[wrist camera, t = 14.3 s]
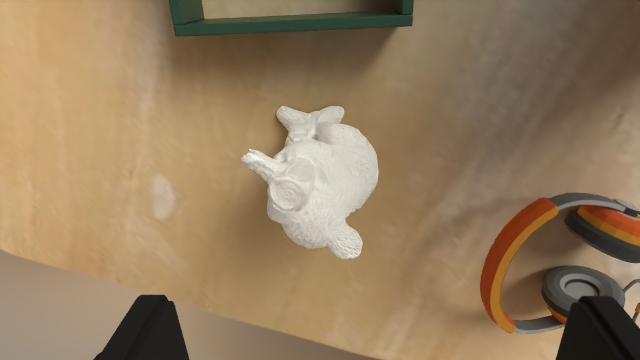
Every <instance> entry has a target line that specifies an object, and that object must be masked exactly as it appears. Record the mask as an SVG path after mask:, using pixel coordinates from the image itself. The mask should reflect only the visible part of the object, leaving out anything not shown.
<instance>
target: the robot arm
mask: <svg viewBox="0 0 640 360" xmlns="http://www.w3.org/2000/svg"><path fill="white" fill-rule="evenodd" d="M94 360H189V356H188V353H187V349H186V345H185V342H184V338H183V335H182V330H181V327H180V323H179V320H178V316H177V312H176V308H175V305H174V302H173V301H168V299H167V297H166V296H165V295H140V296H139V297H138V298H137V299H136V300H135V302H134V304H133V305H132V306H131V308H130V310H129V311H128V313H127V314H126V316H125V317H124V319H123V320H122V322H121V324H120V325H119V326H118V328H117V330H116V331H115V333H114V334H113V336H112V337H111V339H110V340H109V342H108V343H107V345H106V347H105V348H104V350H103V351H102V352H101V353H99V354H98V355H97V356H96V357H95V358H94ZM556 360H640V328H639V327H638V326H637V325H636V324H635V322H634V321H633V320H632V319H631V317H630V316H629V315H628V314H627V313H626V311H625V310H624V309H623V308H622V307H621V305H620V304H619V303H618V302H617V301H616V300H615V299H614V298H613V297H611V296H581V297H580V298H579V300H578V302H574V303H572V305H571V307H570V311H569V314H568V318H567V321H566V325H565V328H564V332H563V335H562V339H561V343H560V346H559V350H558V353H557V357H556Z"/></svg>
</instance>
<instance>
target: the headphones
mask: <svg viewBox="0 0 640 360" xmlns="http://www.w3.org/2000/svg"><path fill="white" fill-rule="evenodd" d="M575 205H581V206H580V208H579V210H575V211H570V212H569V214H568V215H567V217H566V219H565V220H564V221H565V224H566V226H567V228H568V229H569V230H570V232H571V233H573V234H574V235H575V236H576V237H578V238H579V239H581V240H582V241H584V242H585V243H587V244H588V245H590V246H592V247H594V248H595V249H597V250H599V251H601V252H603V253H605V254H607V255H610V256H612V257H614V258H617V259H619V260H622V261H626V262H630V263H640V216H638V215H637V214H639V215H640V210H639V209H638V208H637V207H635V206H633V205H631V204H629V203H627V202H625V201H622V200H619V199H614V200H612V199H609V198H607V197H603V196H599V195H593V194H586V193H566V194H562V195H557V196H554V197H552V198H549V199H547V198H540V199H538V200H536V201H535V202H533V203H531V204H530V205H528V206H527V207H526V208H524V209H523V210H522V211H520V212H519V213H518V214H517V215H516V216H515V217H514V218H512V219H511V220H510V221H509V223H508V224H507V225H506V226H505V227H504V228H503V229H502V231H501V232H500V234H499V235H498V236H497V238H496V239H495V241H494V243H493V245H492V247H491V248H490V250H489V253H488V255H487V258H486V260H485V264H484V267H483V270H482V275H481V282H480V292H481V298H482V302H483V304H484V306H485V309H486V311H487V313H488V315H489V316H490V317H491V319H492V320H493V321H494V322H495V323H496V324H498V325H499V326H500V327H501V328H502V329H503V330H505V331H506V332H508V333H512V332H513V331H514V332H517V333H524V334H532V333H540V332H545V331H550V330H554V329H558V328H562V327H565V325H566V321H567V318H568V314H569V311H570V307H571V305H572V303H574V302H578V300H579V298H580V297H581V296H611V297H613V298H614V299H615V300H616V301H617V302H618V303H619V304H620V305H621V307H622V308H624V303H625V295H624V293H625V292H626V291H627V290H628V289H629V288H630V287H631V286H632V285H633V284H635V283H637V282H640V279H637V280H634V281H632V282H631V283H629V284H628V285H627V286H626V287H625V288H624V289H623V290H622V288H621V287H620V285H619V284H618V283H617V282H616V281H615V280H613V279H612V278H610V277H609V276H607V275H606V274H604V273H601V272H599V271H597V270H594V269H590V268H587V267H580V266H563V267H558V268H555V269H553V270H550V271H549V272H548V273H547V274H545V276H544V278H543V280H542V290H541V293H542V296H543V299H544V301H545V302H546V303H547V306H548V309H549V310H550V312H551V313H552V315H551V316H547V317H543V318H538V319H533V320H524V321H519V320H512V319H511V318H510V317H509V316H507V315H506V314H505V313H503V311H502V310H501V306H500V290H501V285H502V281H503V278H504V275H505V272H506V270H507V267H508V265H509V263H510V261H511V259H512V257H513V256H514V254H515V253H516V251H517V250H518V248H519V247H520V246H521V244H522V243H523V242H524V241H525V240H526V239H527V238H528V237H529V235H531V234H532V233H533V232H534V231H535V230H536V229H537V228H539V227H540V226H541V225H543V224H544V223H546V222H547V221H548V220H550V219H552V218H554V217H555V216H556V215H557V214H558V212H559V210H562V209H564V208H567V207H571V206H575ZM635 311H636V312H635V314H634V316H633V319H632V320H633V321H634V322H635V321H636V318H637V316H638V314H639V313H640V303H638V305H637V307H636V309H635Z"/></svg>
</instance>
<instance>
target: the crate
mask: <svg viewBox="0 0 640 360" xmlns="http://www.w3.org/2000/svg"><path fill="white" fill-rule="evenodd" d="M169 3H170V9H171V14H172V19H173V24H174V30H175V36H177V37H179V36H201V35H224V34H247V33H269V32H292V31H315V30H337V29H360V28H383V27H405V26H412V22H413V15H412V14H413V0H394V2H393V10H394V11H373V12H352V13H330V14H309V15H287V16H266V17H244V18H223V19H204V14H203V7H202V1H201V0H169Z"/></svg>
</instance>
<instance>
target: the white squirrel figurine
mask: <svg viewBox="0 0 640 360" xmlns="http://www.w3.org/2000/svg"><path fill="white" fill-rule="evenodd" d="M343 115H344V109H343V108H342V107H340V106H329V107H325V108H323V109H321V110H320V111H314V112H310V113H305V112H302V111H298V110H294V109H292V108H289V107H287V106H281V107H280V108H279V109H278V110H277V112H276V116H277V118H278V119H279V121H280V122H281V123H282V124H283V125H284V126H285V127H286V128H287V130H288V131H289V134H288V136H287V139H286V141H285V148H284V149H283V150H281V151H280V152H279V153H278V154H276V155H275V156H274V158H273V159H272V158H270V157H268V156H266V155H265V154H263V153H262V152H260V151H257V150H253V149H248V151H249V153H247V154H246V155H243V156H242V158H241V164H244V165H247V166H248V167H247V168H248V169H251V170H254V171H255V173H258V174H259V175H260V176H261V177H262V178H263V179H264V180H265V181H266V182H267V183H268V185H269V187H268V189H267V193H268V194H267V195H268V196H269V198H268V202H267V205H268V206H267V214H268V216H269V217H270V219H272V220H273V221H276V222H278V223H281V224H282V228H283V230H284V232H285V233H286V235H287V236H288V237H289V238H290V239H291V240H292V241H293V242H295V243H296V244H298V245H300V246H304V247H306V248H309V249H312V248H314V249H317V248H322V247H328V248H329V249H330V250H331V252H332V253H333V254H334V255H335V256H336V257H339V258H340V259H349V260H350V259H353V258H355V257H357V256H359V255H360V253H361V250H362V246H363V242H362V239H361V238H360V236H359V234H358V232H357V231H356V230H355V229H352V228H351V227H349V226H348V224H347V223H346V220H345V218H347V217H349V215H350V213H354V212H355V210H356V209H360V208H361V207H362V205H363V204H364V202H366V200H367V198H368V197H369V196H370V195H371V192H373V190H374V189H375V187H376V185H377V183H378V176H379V170H378V160H377V155H376V152H375V150H374V149H373V147H372V145H371V144H370V143H369V142H368V140H367V138H365V137H364V136H363V135H362V134H361V133H360V132H359V130H358V129H356V128H354V127H352V126H350V125H344V124H340V122H341V120H342V117H343Z"/></svg>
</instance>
